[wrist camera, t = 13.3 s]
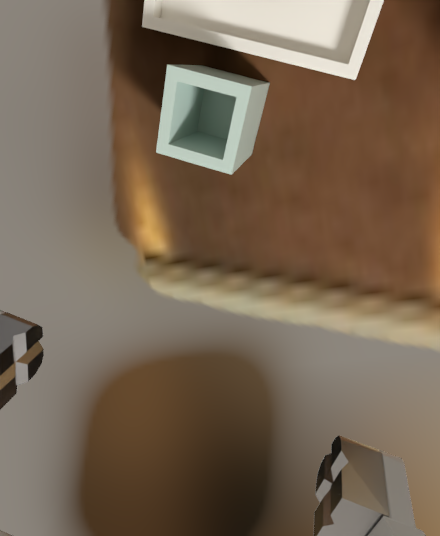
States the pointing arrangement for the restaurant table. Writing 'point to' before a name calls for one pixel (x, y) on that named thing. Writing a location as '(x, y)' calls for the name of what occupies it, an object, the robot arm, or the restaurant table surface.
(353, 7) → the melamine tray
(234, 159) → the celadon cup
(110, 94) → the restaurant table surface
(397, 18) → the restaurant table surface
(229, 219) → the restaurant table surface
